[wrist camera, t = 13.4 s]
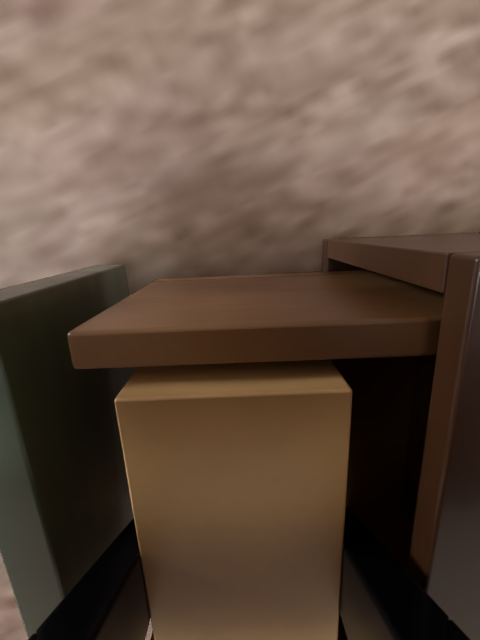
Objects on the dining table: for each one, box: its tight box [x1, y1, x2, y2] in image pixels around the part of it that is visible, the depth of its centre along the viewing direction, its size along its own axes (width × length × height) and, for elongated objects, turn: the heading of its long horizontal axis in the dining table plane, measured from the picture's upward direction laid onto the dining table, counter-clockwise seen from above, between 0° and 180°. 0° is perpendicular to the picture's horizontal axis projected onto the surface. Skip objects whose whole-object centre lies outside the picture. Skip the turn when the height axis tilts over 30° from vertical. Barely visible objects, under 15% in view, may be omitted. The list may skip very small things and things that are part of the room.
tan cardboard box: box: [114, 359, 352, 640], centre depth 8 cm, size 9×4×3 cm, turn 2°
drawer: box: [0, 264, 445, 640], centre depth 11 cm, size 18×13×7 cm
